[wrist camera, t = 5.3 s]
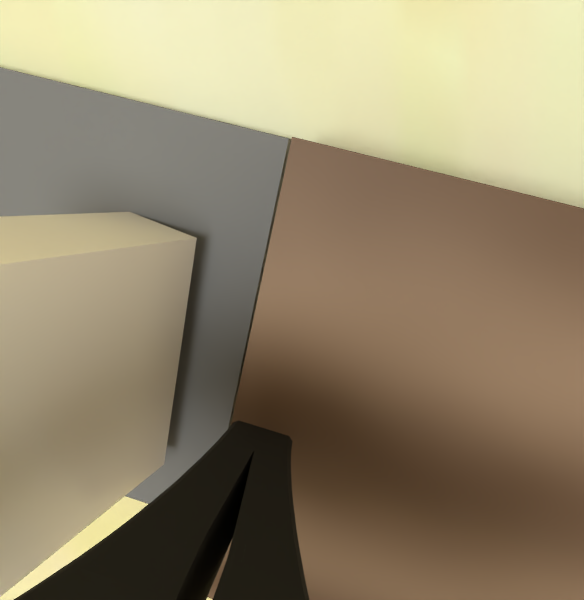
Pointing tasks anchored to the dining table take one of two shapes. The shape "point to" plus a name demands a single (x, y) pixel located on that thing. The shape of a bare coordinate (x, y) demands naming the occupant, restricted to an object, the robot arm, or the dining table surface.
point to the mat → (162, 209)
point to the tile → (83, 370)
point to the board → (423, 381)
